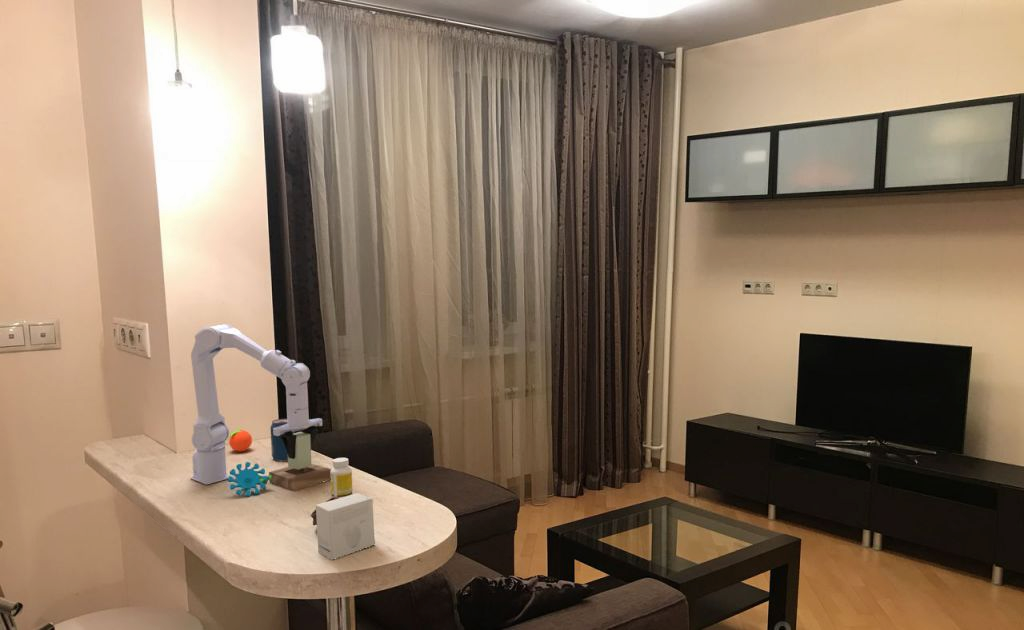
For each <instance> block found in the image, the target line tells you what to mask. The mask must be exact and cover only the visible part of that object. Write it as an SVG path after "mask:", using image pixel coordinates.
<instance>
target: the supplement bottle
mask: <svg viewBox="0 0 1024 630" xmlns="http://www.w3.org/2000/svg"><path fill="white" fill-rule="evenodd" d="M332 466H333V467H332V468H330V469H331V471H330V476H331V480H330V495H331V498H333V497H335V496H338V498H342V497H346V496H349V495H353V473H352V472H353V471H352V468H351V467H350V466H349V458H347V457H337V458H334V459H332Z"/></svg>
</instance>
